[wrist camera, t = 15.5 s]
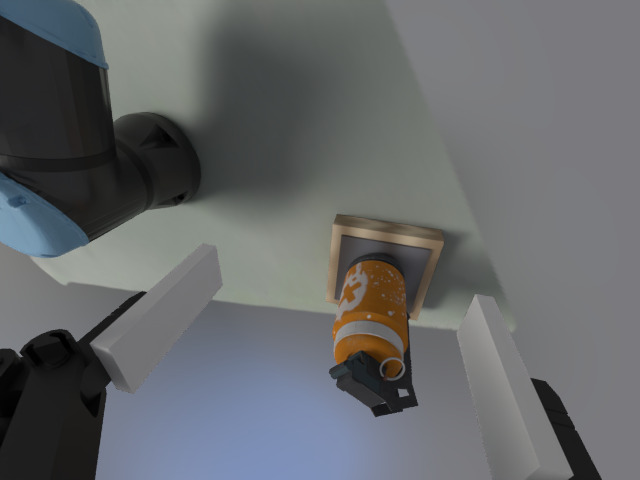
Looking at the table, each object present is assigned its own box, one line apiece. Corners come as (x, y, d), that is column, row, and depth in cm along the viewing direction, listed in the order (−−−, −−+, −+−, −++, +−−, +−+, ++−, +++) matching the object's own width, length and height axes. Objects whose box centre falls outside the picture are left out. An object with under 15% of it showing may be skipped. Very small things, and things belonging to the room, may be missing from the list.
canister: (373, 240, 40) (359, 358, 24) (426, 284, 42) (448, 422, 25) (335, 273, 45) (301, 390, 28) (385, 311, 47) (379, 442, 30)
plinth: (329, 289, 52) (325, 303, 49) (337, 214, 44) (332, 225, 41) (415, 306, 50) (417, 322, 46) (440, 230, 41) (445, 243, 38)
